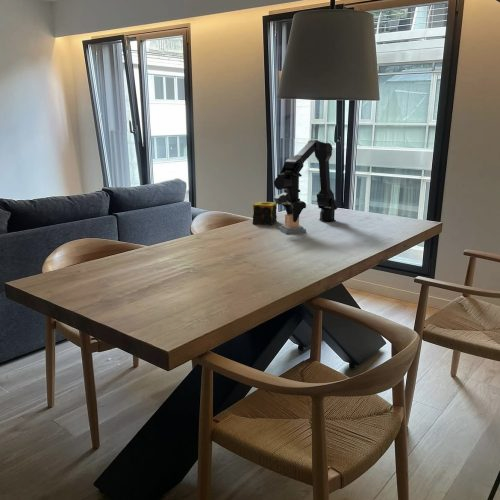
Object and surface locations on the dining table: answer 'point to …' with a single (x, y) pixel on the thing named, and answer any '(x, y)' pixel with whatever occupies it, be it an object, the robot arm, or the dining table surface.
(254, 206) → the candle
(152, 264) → the dining table surface
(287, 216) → the block
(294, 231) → the base
